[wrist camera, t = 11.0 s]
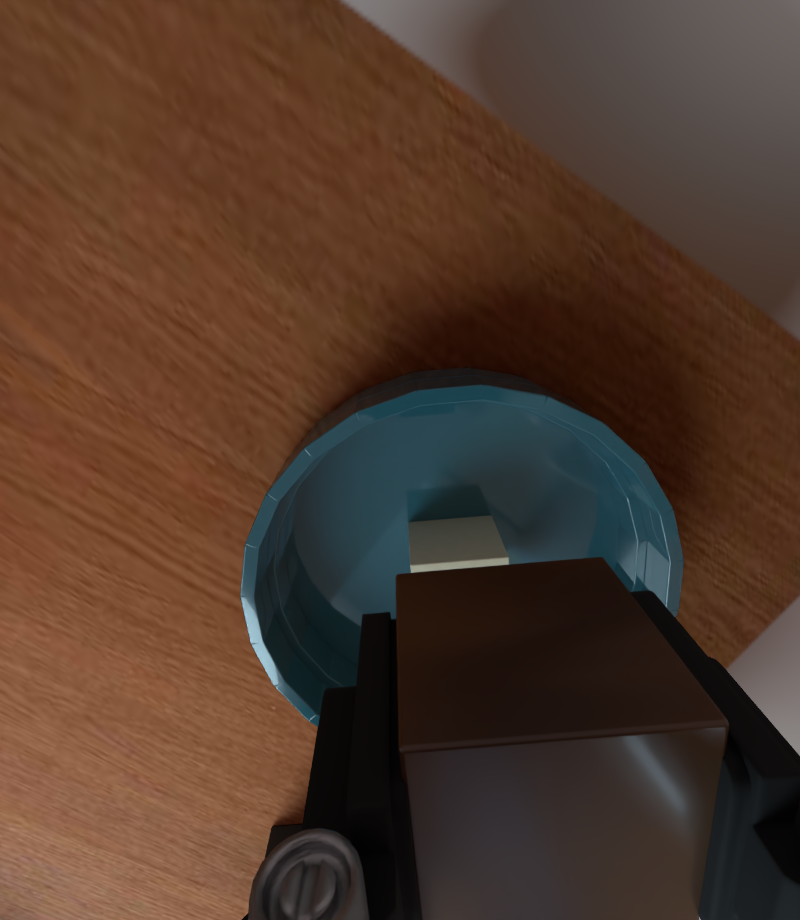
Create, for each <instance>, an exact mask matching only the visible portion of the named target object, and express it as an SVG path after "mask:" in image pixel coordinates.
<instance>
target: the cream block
mask: <svg viewBox="0 0 800 920" xmlns="http://www.w3.org/2000/svg"><path fill="white" fill-rule="evenodd" d="M408 534H409V551H410V567H411V573H413V572H425V571H437V570H449V569H461V568H473V567H484V566H496V565H508V564H509V556H508V554H507V551H506V549H505V547H504V544H503V542H502V539H501V537H500V535H499V532H498V530H497V527H496V525H495V523H494V520H493V518H492V516H491V515H489V516H476V517H464V518H452V519H440V520H428V521H416V522H408Z"/></svg>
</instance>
